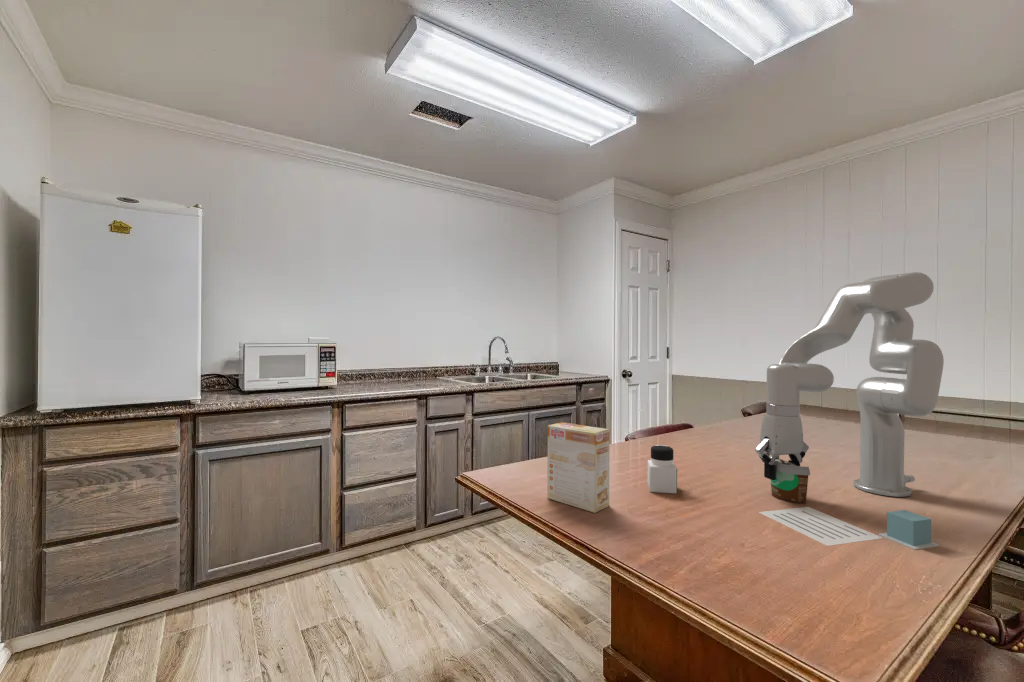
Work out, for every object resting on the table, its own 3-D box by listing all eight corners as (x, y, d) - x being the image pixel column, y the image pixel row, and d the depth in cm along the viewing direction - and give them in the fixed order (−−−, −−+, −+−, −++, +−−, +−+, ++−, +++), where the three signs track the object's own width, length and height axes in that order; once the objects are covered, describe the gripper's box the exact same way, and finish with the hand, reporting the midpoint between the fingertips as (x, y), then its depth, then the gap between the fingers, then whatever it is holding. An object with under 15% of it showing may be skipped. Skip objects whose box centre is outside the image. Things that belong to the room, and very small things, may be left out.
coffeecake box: (610, 506, 113) (610, 428, 113) (594, 514, 108) (595, 433, 107) (562, 491, 123) (562, 421, 123) (546, 498, 118) (546, 424, 118)
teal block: (904, 532, 97) (904, 509, 97) (931, 543, 92) (931, 518, 92) (886, 535, 95) (887, 512, 95) (913, 545, 91) (913, 521, 91)
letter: (808, 507, 112) (808, 506, 112) (883, 538, 95) (883, 537, 95) (758, 513, 108) (758, 512, 108) (826, 546, 91) (826, 545, 91)
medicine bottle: (677, 494, 121) (677, 450, 121) (649, 492, 123) (650, 448, 123) (673, 485, 128) (673, 444, 128) (647, 484, 130) (647, 442, 130)
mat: (902, 532, 98) (902, 530, 98) (940, 546, 91) (940, 544, 91) (878, 535, 96) (878, 533, 96) (914, 550, 89) (914, 548, 89)
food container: (756, 490, 125) (756, 454, 124) (777, 490, 125) (777, 454, 125) (787, 507, 112) (787, 467, 112) (810, 506, 113) (810, 467, 113)
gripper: (797, 407, 124) (796, 471, 124) (744, 409, 120) (743, 475, 120) (821, 412, 117) (821, 479, 117) (766, 414, 113) (766, 484, 113)
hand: (782, 477), depth 119 cm, fingers open, 7 cm apart
